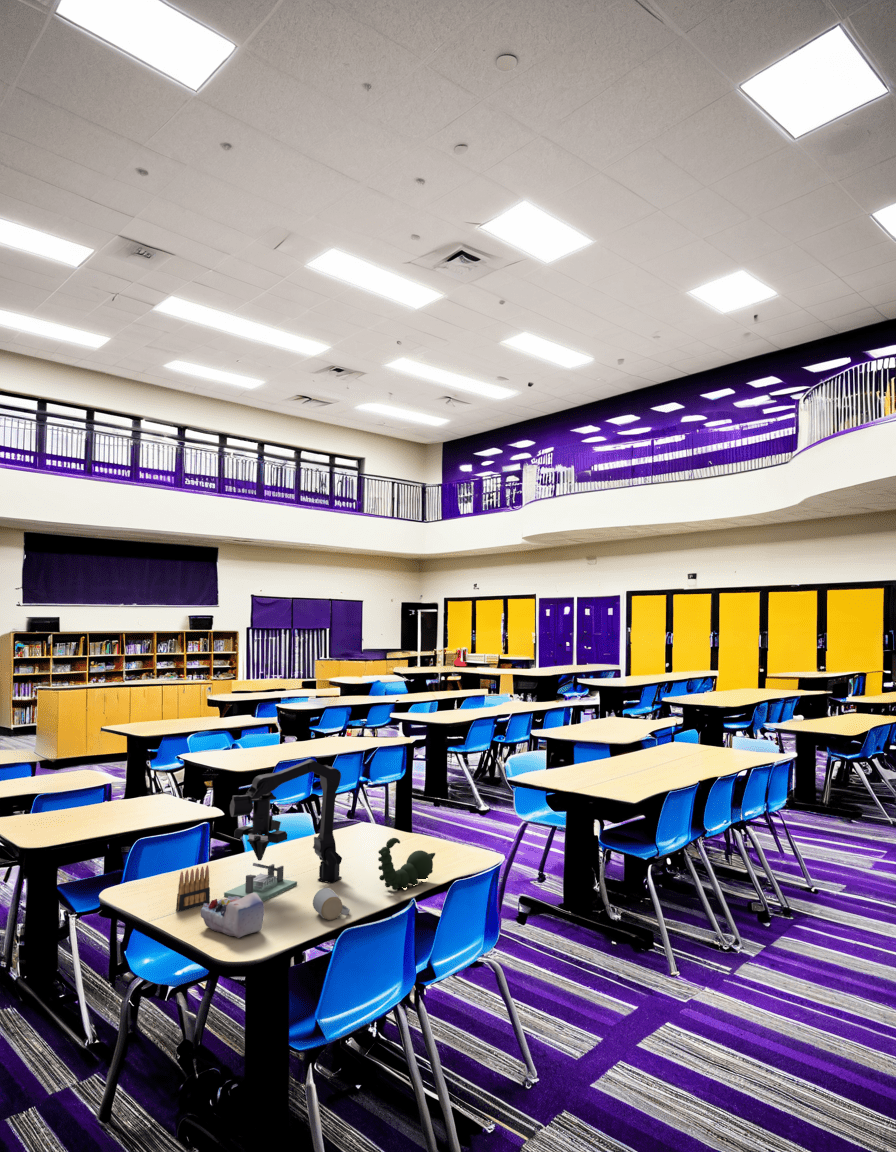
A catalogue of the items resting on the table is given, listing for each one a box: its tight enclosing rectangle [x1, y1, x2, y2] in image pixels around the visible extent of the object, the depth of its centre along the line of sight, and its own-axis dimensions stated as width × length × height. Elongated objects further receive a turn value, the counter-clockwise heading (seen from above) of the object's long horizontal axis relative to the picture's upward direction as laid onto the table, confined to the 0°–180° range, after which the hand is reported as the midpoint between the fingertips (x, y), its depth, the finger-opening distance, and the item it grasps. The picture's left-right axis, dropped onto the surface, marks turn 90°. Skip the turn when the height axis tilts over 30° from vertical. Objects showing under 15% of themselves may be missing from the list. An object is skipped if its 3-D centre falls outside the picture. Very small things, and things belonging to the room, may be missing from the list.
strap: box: [252, 862, 277, 872], centre depth 247 cm, size 12×3×1 cm, turn 155°
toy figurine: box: [377, 837, 436, 891], centre depth 251 cm, size 9×19×25 cm
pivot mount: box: [267, 863, 284, 883], centre depth 252 cm, size 5×3×5 cm, turn 66°
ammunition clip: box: [175, 864, 211, 912], centre depth 229 cm, size 11×2×12 cm, turn 138°
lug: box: [245, 874, 257, 893], centre depth 240 cm, size 2×2×5 cm
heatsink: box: [253, 873, 277, 892], centre depth 245 cm, size 7×8×3 cm
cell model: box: [199, 893, 265, 939], centre depth 211 cm, size 13×11×20 cm
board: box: [223, 878, 298, 903], centre depth 245 cm, size 15×20×1 cm
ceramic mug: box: [312, 887, 350, 921], centre depth 222 cm, size 11×8×8 cm
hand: (259, 860), depth 244 cm, fingers closed
